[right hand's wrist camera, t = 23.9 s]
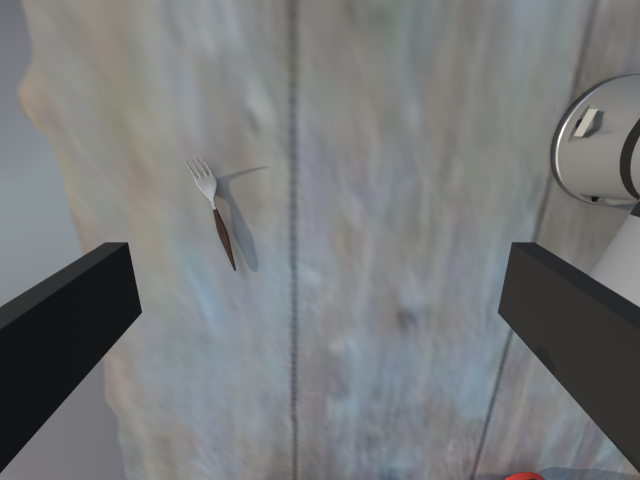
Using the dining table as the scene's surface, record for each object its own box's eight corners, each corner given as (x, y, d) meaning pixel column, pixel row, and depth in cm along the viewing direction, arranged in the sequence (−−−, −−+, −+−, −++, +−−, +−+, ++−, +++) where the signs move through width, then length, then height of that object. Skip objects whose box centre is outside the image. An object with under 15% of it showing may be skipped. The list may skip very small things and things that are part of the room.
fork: (227, 271, 50) (223, 277, 48) (188, 158, 44) (182, 160, 42) (245, 267, 49) (242, 273, 47) (208, 154, 44) (203, 156, 42)
